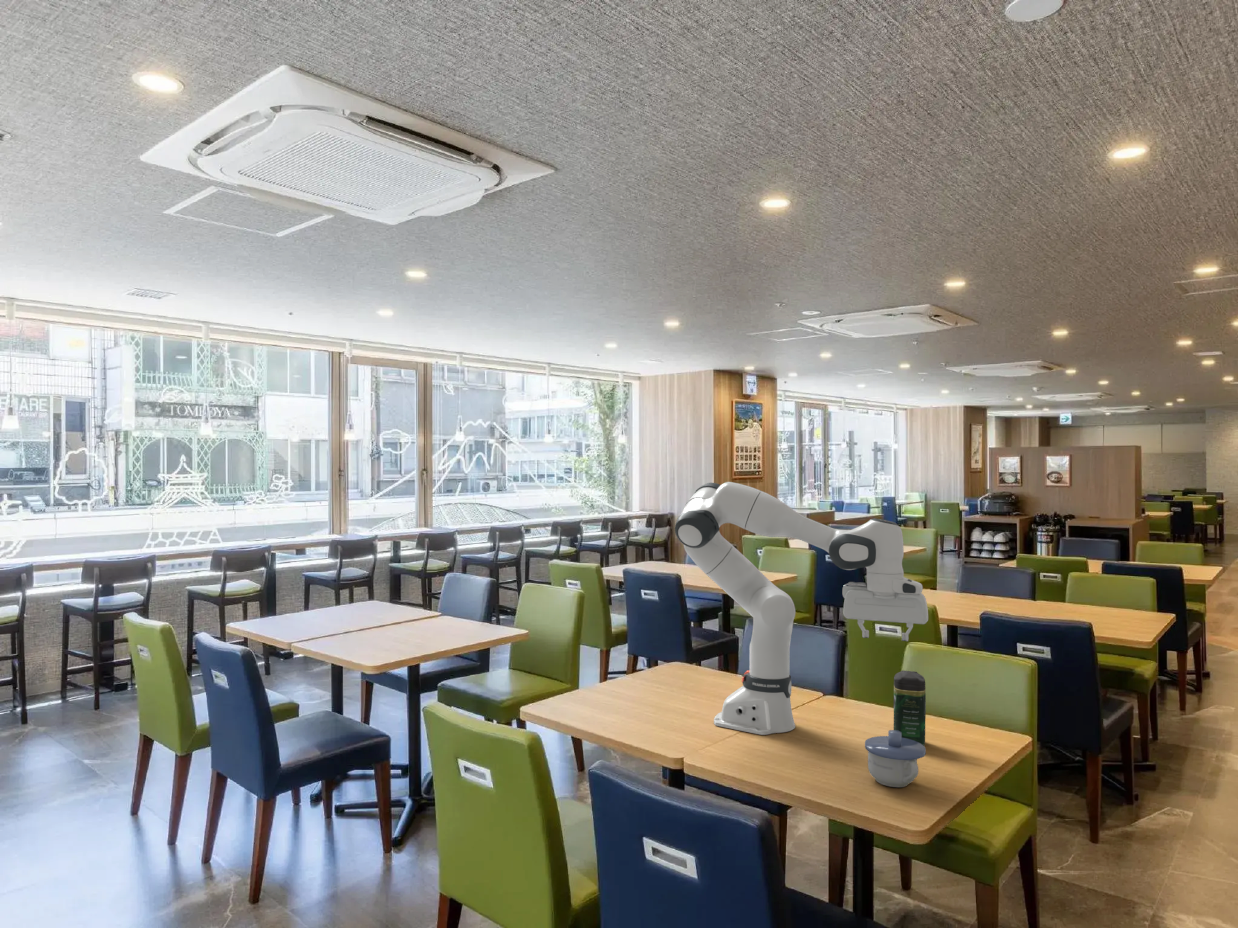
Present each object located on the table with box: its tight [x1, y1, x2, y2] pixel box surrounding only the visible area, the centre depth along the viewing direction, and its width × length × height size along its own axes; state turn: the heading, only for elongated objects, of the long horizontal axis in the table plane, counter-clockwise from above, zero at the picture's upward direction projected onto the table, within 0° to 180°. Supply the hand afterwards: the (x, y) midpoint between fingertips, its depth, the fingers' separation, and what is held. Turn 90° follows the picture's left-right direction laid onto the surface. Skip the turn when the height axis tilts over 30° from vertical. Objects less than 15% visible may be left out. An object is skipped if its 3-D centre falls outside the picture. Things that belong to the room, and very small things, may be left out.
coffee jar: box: [893, 669, 927, 746], centre depth 208 cm, size 10×8×19 cm
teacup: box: [867, 751, 919, 788], centre depth 180 cm, size 14×11×8 cm
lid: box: [864, 729, 927, 760], centre depth 180 cm, size 13×13×4 cm
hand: (885, 638), depth 199 cm, fingers open, 8 cm apart
